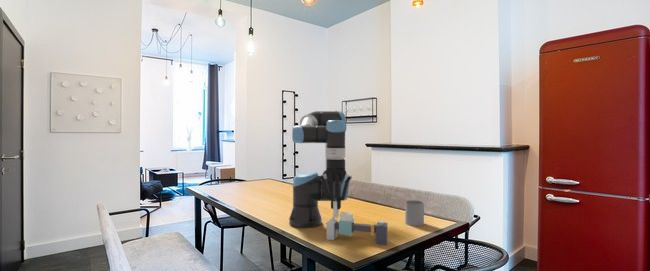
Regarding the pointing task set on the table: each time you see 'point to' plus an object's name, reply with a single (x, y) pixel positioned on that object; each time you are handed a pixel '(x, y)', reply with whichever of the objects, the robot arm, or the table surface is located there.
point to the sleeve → (346, 223)
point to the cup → (414, 213)
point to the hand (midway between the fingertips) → (335, 216)
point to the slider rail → (361, 230)
